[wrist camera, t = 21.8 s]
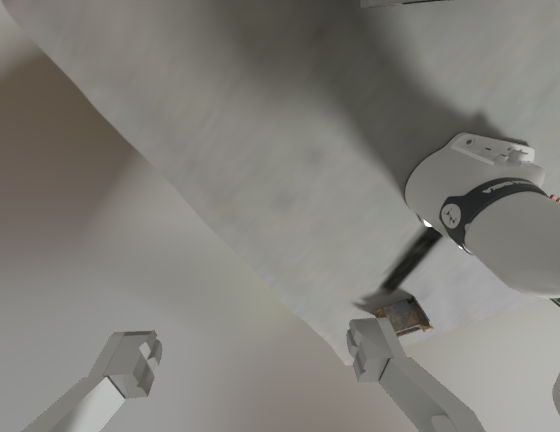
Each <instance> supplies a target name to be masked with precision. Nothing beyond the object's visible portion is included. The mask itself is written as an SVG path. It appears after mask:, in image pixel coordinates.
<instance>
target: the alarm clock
mask: <svg viewBox="0 0 560 432" xmlns="http://www.w3.org/2000/svg"><path fill="white" fill-rule="evenodd" d="M441 1H452V0H360V7H362V8H368V7H382V6H395V5H407V4H419V3H430V2H441Z"/></svg>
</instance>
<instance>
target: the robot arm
mask: <svg viewBox="0 0 560 432" xmlns="http://www.w3.org/2000/svg"><path fill="white" fill-rule="evenodd" d="M468 140H469V141H468ZM467 141H468V142H467ZM534 154H535V153H534V148H532V147H530V146H527V145H523V144H518V143H513V142H508V141H504V140H499V139H494V138H489V137H485V136H480V135H475V134H470V133H466V132H462V133H459V134H458V135H456V136H455V137H454V138H453V139H452V140H451V141H450V142H449V143H448V144H447V145H446V146H445V147H443V148H442V149H440V150H439V151H437V152H435V153H433V154H432V155H430V156H429V157H427V158H426V159H425V160H424V161H422V162H421V163H420V164H419V165H418V166H417V168H416V169H415V170H414V171H413V173H412V174H411V176H410V178H409V180H408V182H407V185H406V189H405V199H406V203H407V205H408V206H409V208H410V209H411V210H412V211H414V212H415V213H416V214H418V215H419V216H420V219H421V221H422V223H423V224H424V225H426V226H427V227H431V226H432V227H434V228H435V229H436V230H437V231H439V232H440V233H441V234H443V235H444V236H445V237H446V238H448V239H449V240H451V241H454V242H455V243H456V244H457V245H458V246H459V247H460V248H461V249H463V250H465V251H466V252H467V253H469V254H471V255H473V256H475V257H476V258H478V259H479V260H480V261H481V262H482V263H483V264H484V265H485V266H486V267H487V268H488V269H489V270H490V271H492V272H493V273H494V274H495V275H496V276H497V277H498V278H499V279H500V280H501V281H502V282H504V283H505V284H506V285H507V286H508V287H509V288H511V289H513V290H515V291H517V292H520V293H523V294H526V295H529V296H533V297H538V298H560V203H559V202H558V201H559V200H560V198H558V199H557V200H556V201H555V200H554V196H555V195H551V196H550V198H549V197H548V196H547V194H546V193H545V192H543V191H542V190H541V187H542V184H543V181H544V171H543V169H542V168H541V167H539V166H537V165H534V164H533V161H534ZM349 326H350V329H349V330H348V331H347V335H346V336H347V346H348V350H349V353H350V355H351V356H352V357H353V358H354V359H355V360H354V363H353V367H354V370H355V373H356V377H357V380H358V382H378V381H379V384H380V385H381V386H382V387H383V388H384V390H385V391H386V392H387V393H388V394H389V396H390V397H391V398H392V399H393V400H394V402H395V403H396V404H397V405H398V406H399V407H400V409H401V410H402V411H403V412H404V413H405V415H406V416H407V417H408V418H409V419H410V421H411V422H412V423H413V424H414V425H415V426H416V428H417V429H418V430H419V432H485V430H484V428H483V427H482V425H481V423H480V421H479V420H478V418H477V416H476V415H475V413H474V412H473V411H472V410H471V409H470V408H469V407H468V406H466V405H465V404H464V403H463V402H462V401H460V400H459V399H458V398H457V397H456V396H455V395H454V394H453V393H451V392H450V391H449V390H448V389H447V388H446V387H444V386H443V385H442V384H441V383H440V382H439V381H438V380H436V379H435V378H434V377H433V376H432V375H431V374H429V373H428V372H427V371H426V370H425V369H424V368H422V367H421V366H420V365H419V364H418V363H417V362H416V361H415V360H413V359H412V358H411V357H407V356H406V354H405V352H404V350H403V348H402V346H401V344H400V342H399V340H398V338H397V336H396V334H395V332H394V329H393V327H392V325H391V323H390V321H389V320H388V319H387V318H366V319H353V320H350V323H349ZM156 336H157V334H156V332H155V331H154V330H153V331H136V332H115V333H113V334H112V335H111V336H110V338H109V339H108V341H107V343H106V345H105V346H104V348H103V350H102V352H101V354H100V355H99V357H98V359H97V361H96V363H95V364H94V366H93V368H92V370H91V372H90V374H89V375H88V377H86V378H83V379H81V380H80V381H79V382H78V383H77V384H75V385H74V386H73V387H72V388H71V389H70V390H69V391H68V392H66V393H65V394H64V395H63V396H62V397H61V398H59V400H57V401H56V402H55V403H54V404H52V405H51V406H50V407H49V408H48V409H47V410H46V411H44V412H43V413H42V414H41V415H40V416H39V417H38V418H37V419H35V420H34V421H33V422H32V423H31V424H30V425H28V426H27V427H26V428H25V429H24V430H23V431H21V432H99V431H100V430H101V429H102V428H103V426H104V425H105V424H106V423H107V422H108V420H109V419H110V418H111V417H112V416H113V414H114V413H115V412H116V411H117V410H118V408H119V407H120V406H121V405H122V404H123V402H124V401H125V399H127V398H137V397H147V396H148V395H149V392H150V389H151V386H152V383H153V380H154V374H153V371H154V370H155V368H156V367H157V366H158V365H159V363H160V360H161V355H162V345H161V342H160V341H159V340H157V339H156ZM552 393H553V401H554V404H555V406H556V409H557V411H558V413H559V415H560V373H559V375H558V378H557V380H556V382H555V385H554V387H553V392H552Z"/></svg>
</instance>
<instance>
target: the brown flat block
mask: <svg viewBox="0 0 560 432" xmlns="http://www.w3.org/2000/svg"><path fill="white" fill-rule="evenodd" d="M413 298H414V302H412V303H409V304H408V302H407V300H406V299H405V300H403V301H400V302H397V303H394V304H392V305H389V306H386V307H383V308H380V309H377V310H375V311H373V312H374V314H375V316H376V318H387V319H388V320H389V321H390V323H391V325H392V327H393V329H394V332H395V334H396V336H397V338H398V337H401V336H404V335H407V334H410V333H413V332H416V331H419V330H422V329H423V331H424V332H426V330H429V329H433V327H432V326H431V323H430V320H429V319H428V317H427V316H426V314H425V312H424V311H423V309H422V308H421V306H420V305H419V303H418V301H417V300H416V298H415V297H414V296H413Z"/></svg>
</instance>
